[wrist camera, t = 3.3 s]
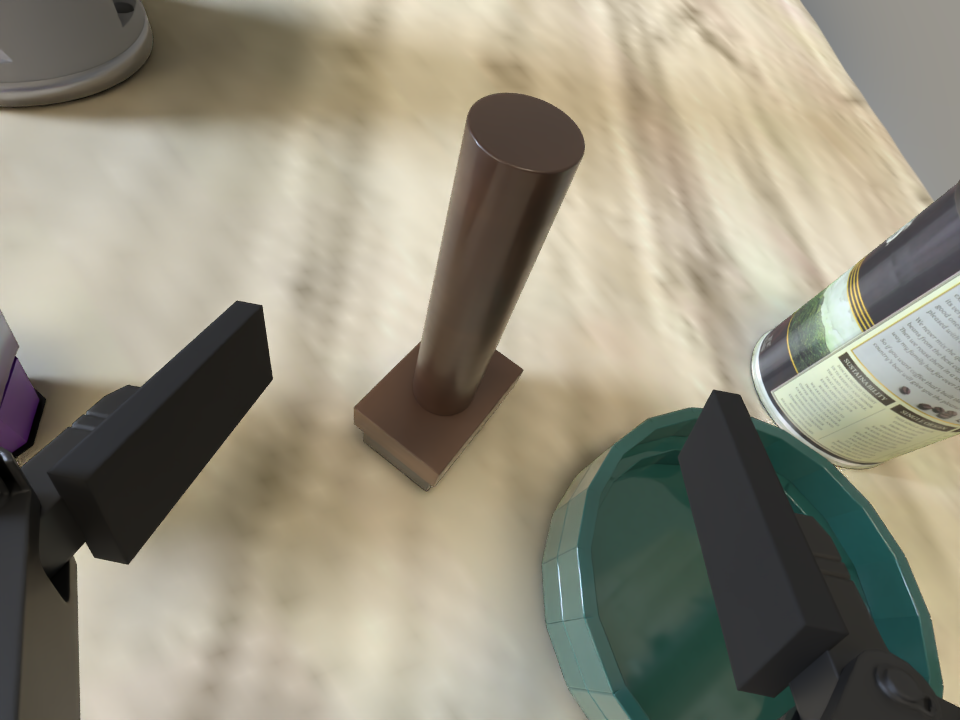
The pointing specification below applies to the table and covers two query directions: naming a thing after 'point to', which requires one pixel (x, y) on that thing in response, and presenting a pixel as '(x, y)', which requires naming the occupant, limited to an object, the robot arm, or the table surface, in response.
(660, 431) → the bowl
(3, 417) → the potion bottle
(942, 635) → the table surface
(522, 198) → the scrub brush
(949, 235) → the coffee can
